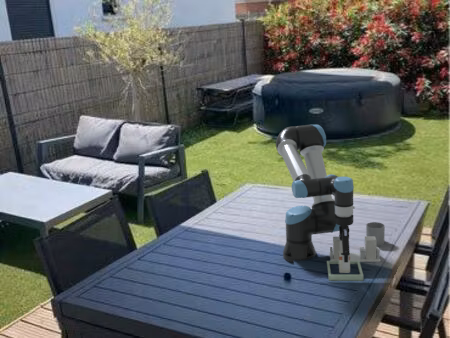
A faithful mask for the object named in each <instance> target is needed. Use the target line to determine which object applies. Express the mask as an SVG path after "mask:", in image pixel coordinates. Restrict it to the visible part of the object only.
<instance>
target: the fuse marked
mask: <svg viewBox="0 0 450 338" xmlns="http://www.w3.org/2000/svg"><path fill="white" fill-rule="evenodd" d="M341 253H343V251H339V264H338V274H339V273H340V274H351V264H350V255H349V269H342V255H341Z"/></svg>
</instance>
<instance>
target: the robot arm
mask: <svg viewBox="0 0 450 338" xmlns="http://www.w3.org/2000/svg"><path fill="white" fill-rule="evenodd" d="M326 145H327V135H326V133H325V130H324V128H323V127H322V126H321V125H319V124H305V125H297V126H296V125H295V126H288V127H285V128H284V129H282V130H281V131H280V132H279V134H278V136H277V137H276V140H275V147H276V151H277V153H278V155H280V156H281V157H282V160H283V162H284V163H285V165H286V167H287V169H288V171H289V174H290V177H291V178H292V183H291V192H292V196H293V197H294V198H296V199H306V198H312V201H313V203H312V205H311V207H310V206H307V205H297V206H293V207H290V208H288V210H287V211H286V212H285V220H284V221H285V222H284V224H285V238H286V239H285V240H286V241H285V244H284V247H283V251H282V254H283V255H282V257H283V259H284V260H285V261H287V262H290V263H294V262H295V261H299V262H300V261H308V260H311V259H314V258H315V257H316V256H317V251H316V248H315V246H314V243H313V241H312V240H313V239H312V235H319V234H329V233H331V234H333V233H335V232H336V233H337V232H339V233H338V237H340V238H339V239H340V240H341V241H340V251H343V253H341V255H342V269H349V255H350V253H351V252H350V226H352V225H354V209H355V208H356V207H355V205H354V188H355V187H354V180H353V178H351V177H349V176H338V175H336V174H332V173H331V174H328V173H327V171H326V166H325V161H324V157H323V151H324V150H325V146H326ZM301 156H302V157H303V159H304V161H305V163H304V161H303V159H302V157H301ZM333 196H334V199H333Z"/></svg>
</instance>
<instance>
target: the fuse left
mask: <svg viewBox="0 0 450 338" xmlns="http://www.w3.org/2000/svg"><path fill="white" fill-rule="evenodd" d="M339 238H340V237H339V236H333V237H332V246H333V247H332V249H333V257H334V259H339V251H340V241H341V240H340V239H339Z"/></svg>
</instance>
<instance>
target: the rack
mask: <svg viewBox="0 0 450 338" xmlns="http://www.w3.org/2000/svg"><path fill="white" fill-rule="evenodd" d="M380 253H381V252H380V248H379V246H376V259H366V257H365V246H360V247H359V252H350V261H360V263H361V262H370V263H372V262H373V263H374V262H376V263H377V262H381V259H380ZM329 259H330V260H329V261H339V259H334V257H333V247H332V246H330V247H329Z"/></svg>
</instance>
